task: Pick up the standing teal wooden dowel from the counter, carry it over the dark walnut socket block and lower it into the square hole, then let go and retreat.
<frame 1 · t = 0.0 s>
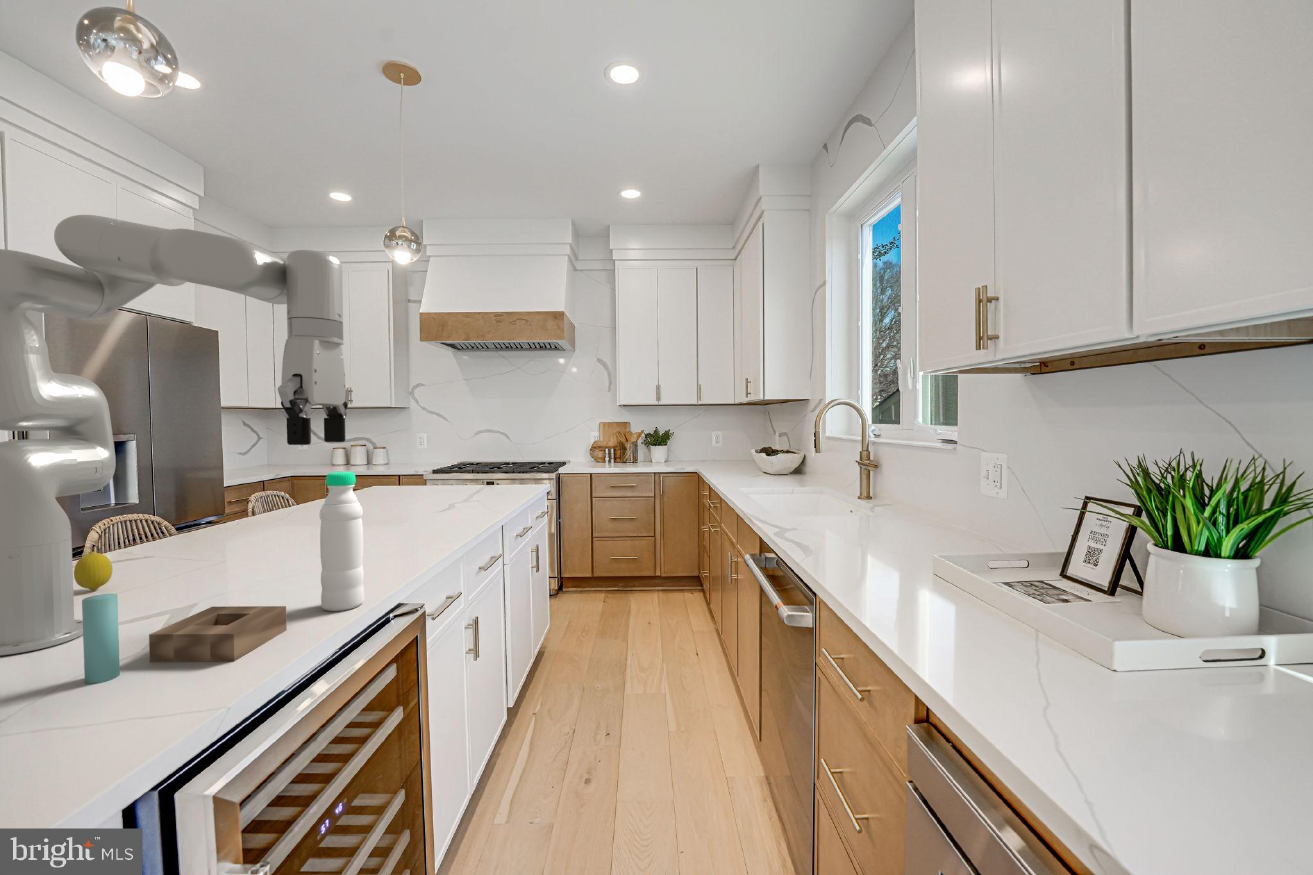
hand: (318, 443, 89), 31 cm above the countertop, tool pointing down, fingers open, 9 cm apart
water bottle: (343, 606, 106), on the countertop
dowel: (102, 677, 77), on the countertop
socket block: (222, 644, 88), on the countertop
lemon: (94, 591, 115), on the countertop
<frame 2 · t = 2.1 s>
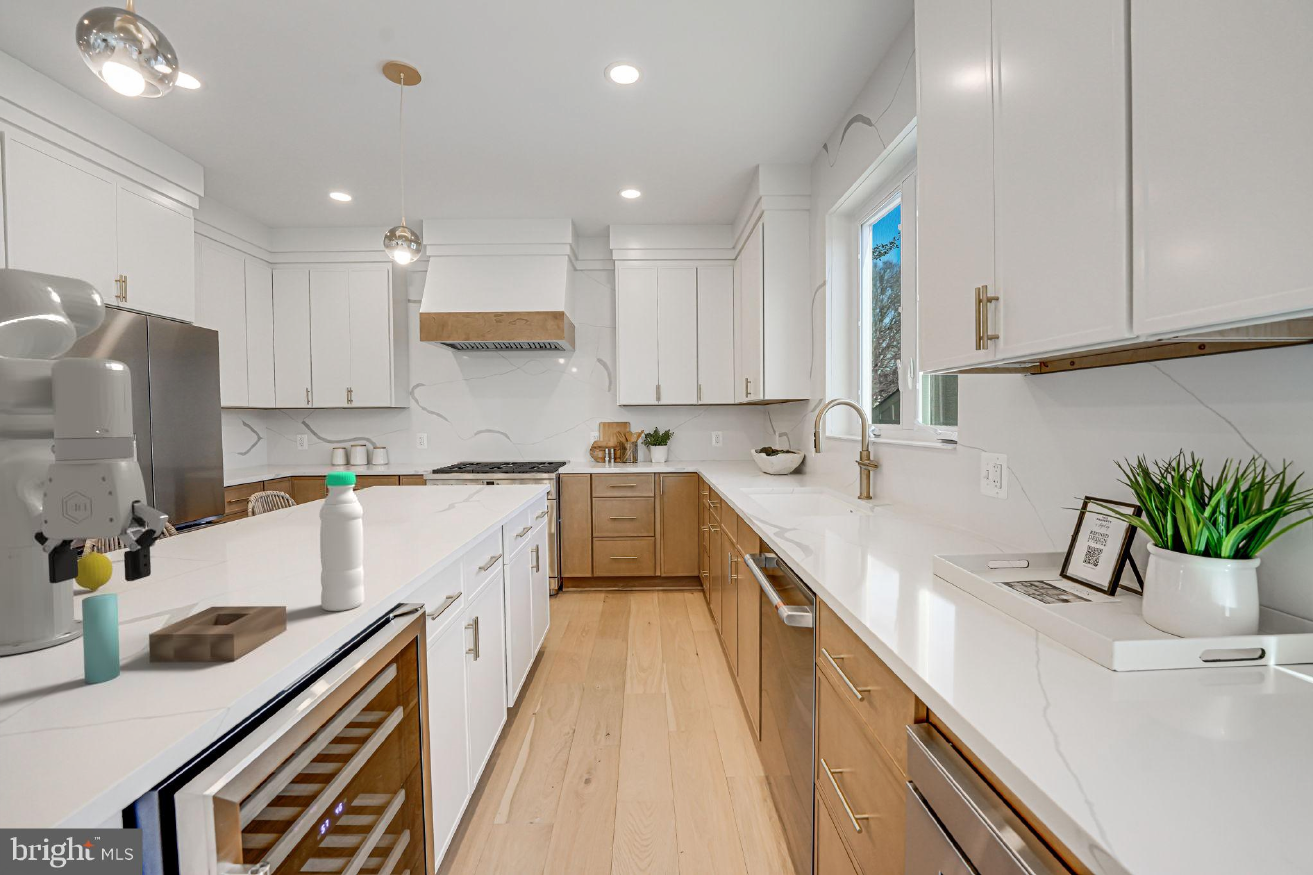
hand: (101, 579, 76), 14 cm above the countertop, tool pointing down, fingers open, 9 cm apart
nothing on the countertop moved.
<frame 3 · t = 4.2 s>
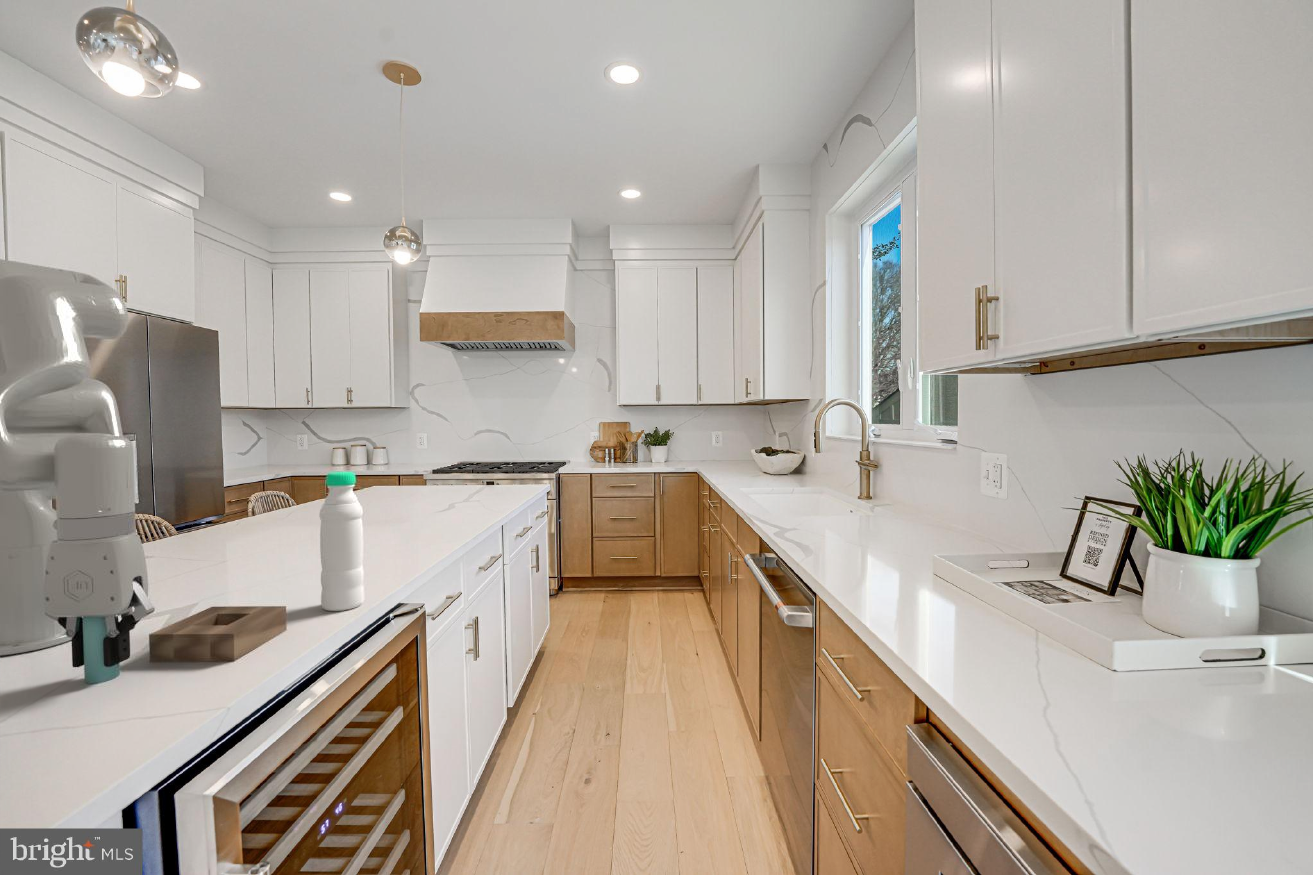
hand: (102, 661, 77), 2 cm above the countertop, tool pointing down, fingers closed on dowel, 3 cm apart
dowel: (102, 677, 77), on the countertop, touching gripper
everything else where it was.
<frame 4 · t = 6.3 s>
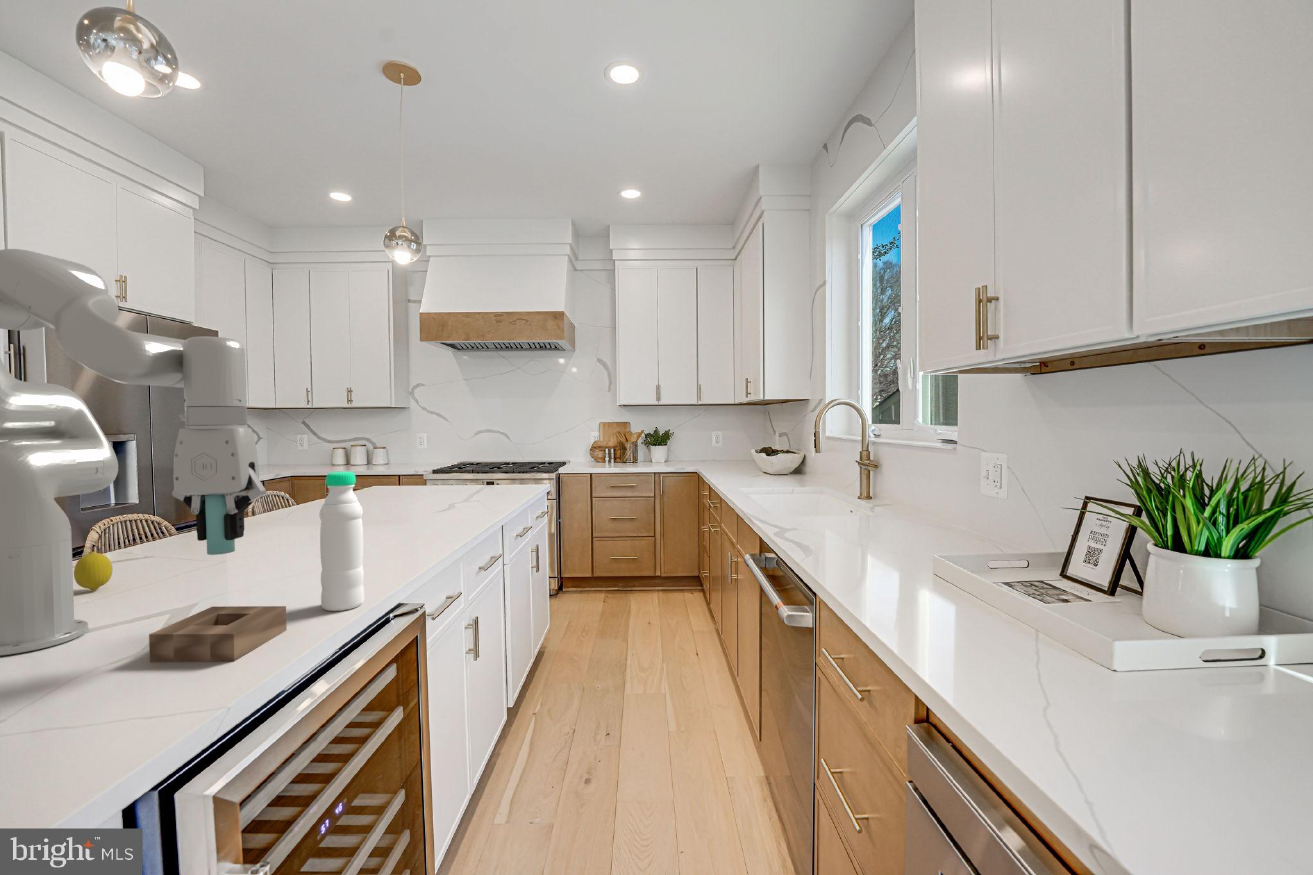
hand: (221, 537, 87), 17 cm above the countertop, tool pointing down, fingers closed on dowel, 3 cm apart
dowel: (221, 552, 87), point 15 cm above the countertop, touching gripper
everything else where it was.
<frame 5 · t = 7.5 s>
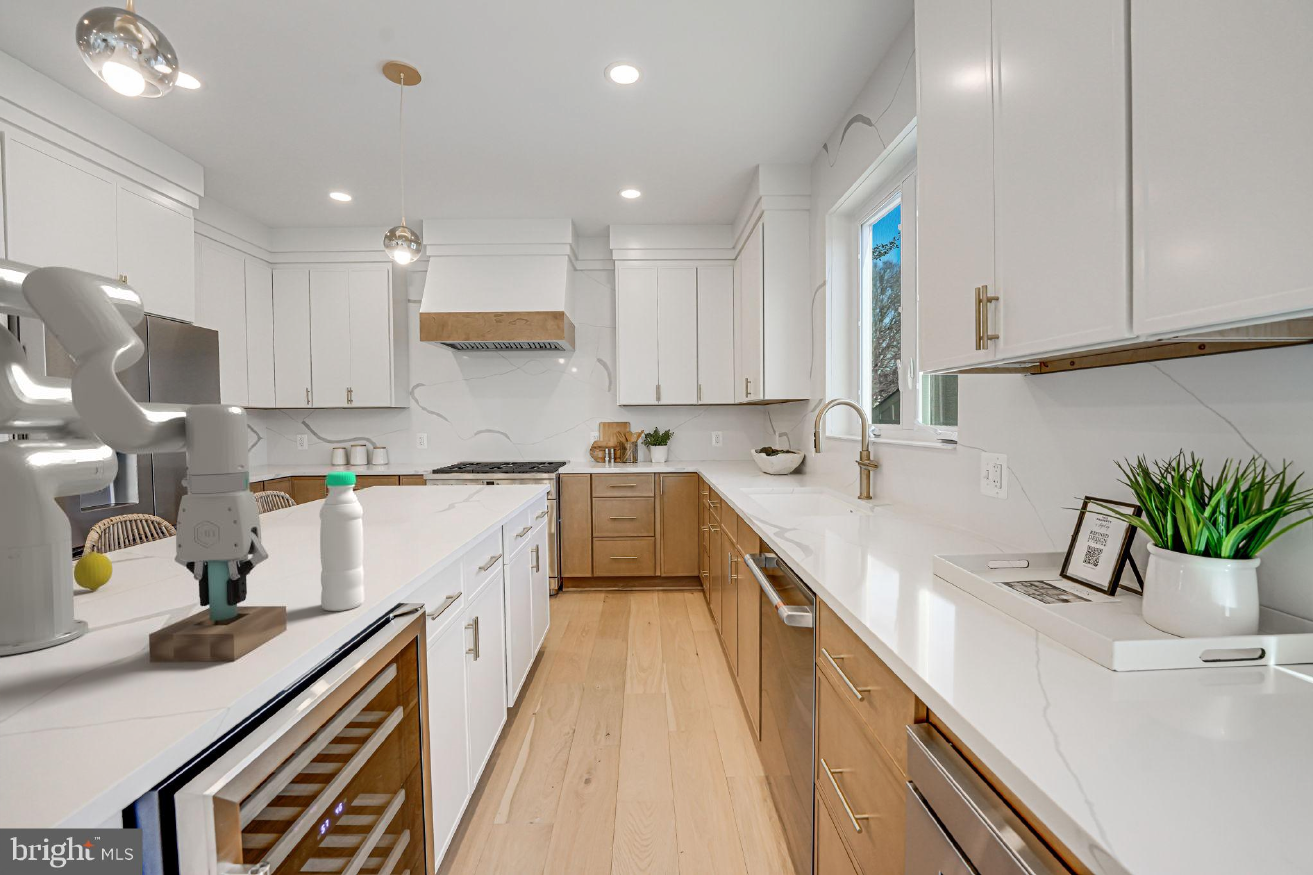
hand: (223, 601, 88), 7 cm above the countertop, tool pointing down, fingers closed on dowel, 3 cm apart
dowel: (223, 616, 88), point 4 cm above the countertop, touching gripper
everything else where it was.
when the fingers open (5 cm above the countertop, at t = 8.5 s): dowel drops 2 cm, resting in socket block.
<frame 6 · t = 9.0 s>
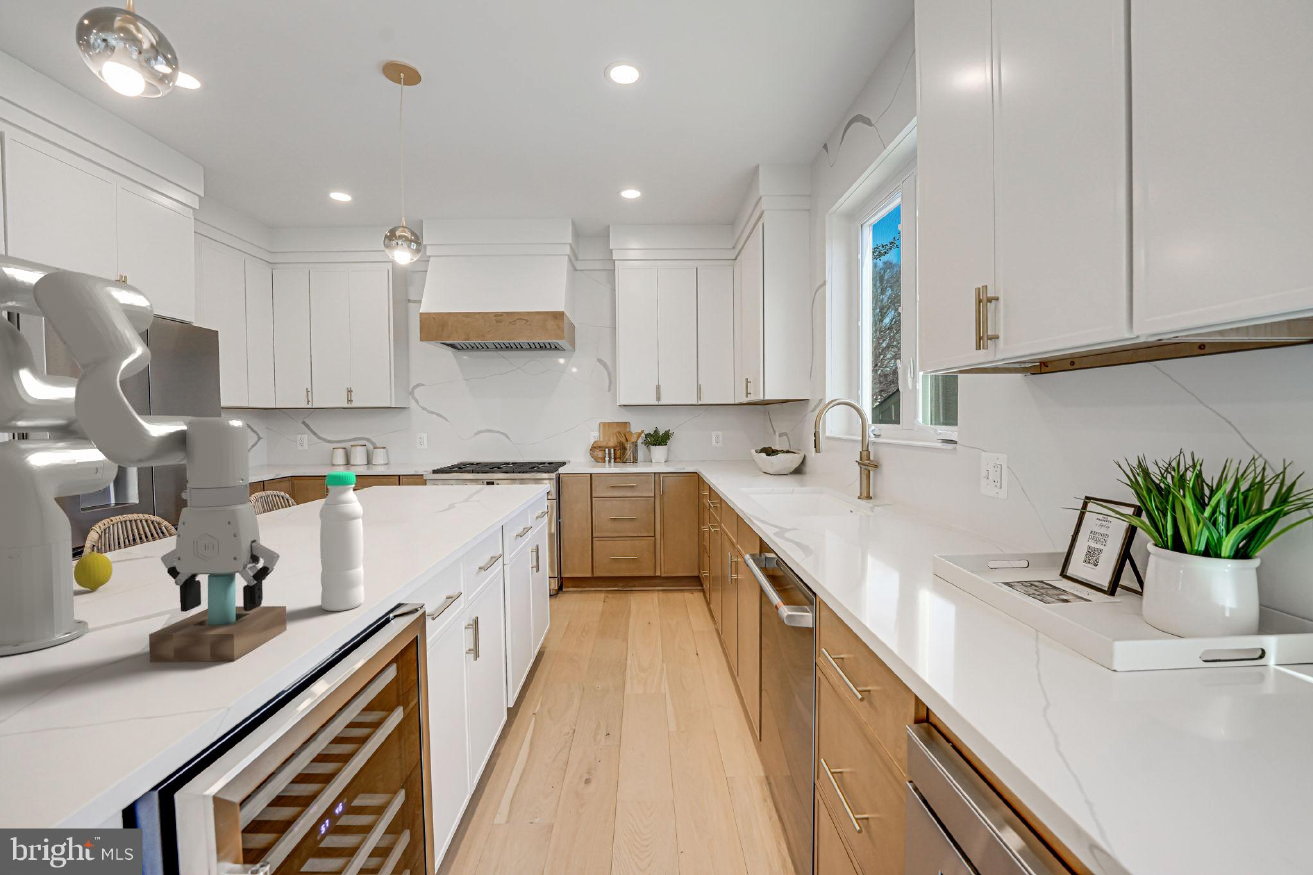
hand: (222, 608, 88), 6 cm above the countertop, tool pointing down, fingers open, 9 cm apart
dowel: (221, 644, 88), resting in socket block
everything else where it was.
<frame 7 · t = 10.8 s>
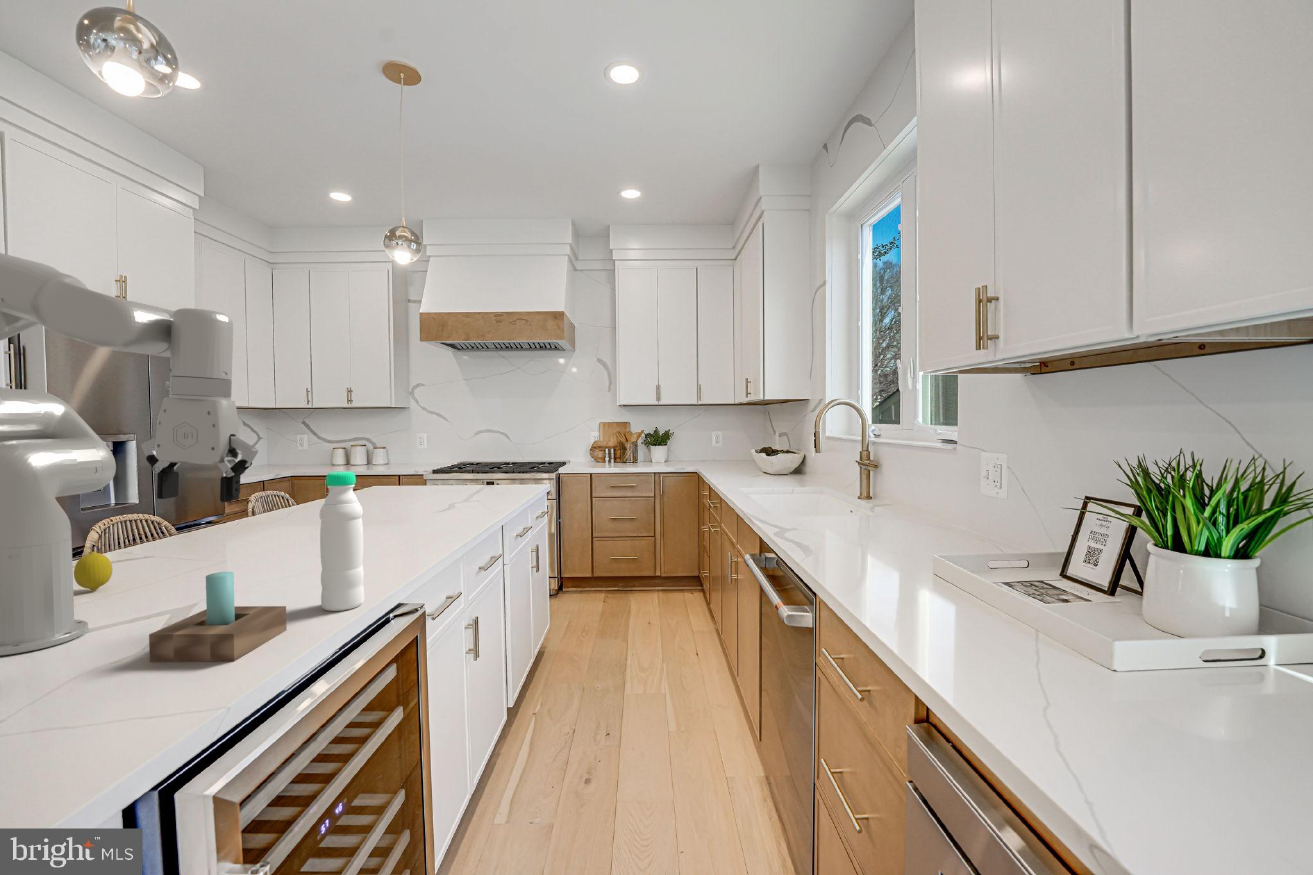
hand: (198, 499, 89), 22 cm above the countertop, tool pointing down, fingers open, 9 cm apart
nothing on the countertop moved.
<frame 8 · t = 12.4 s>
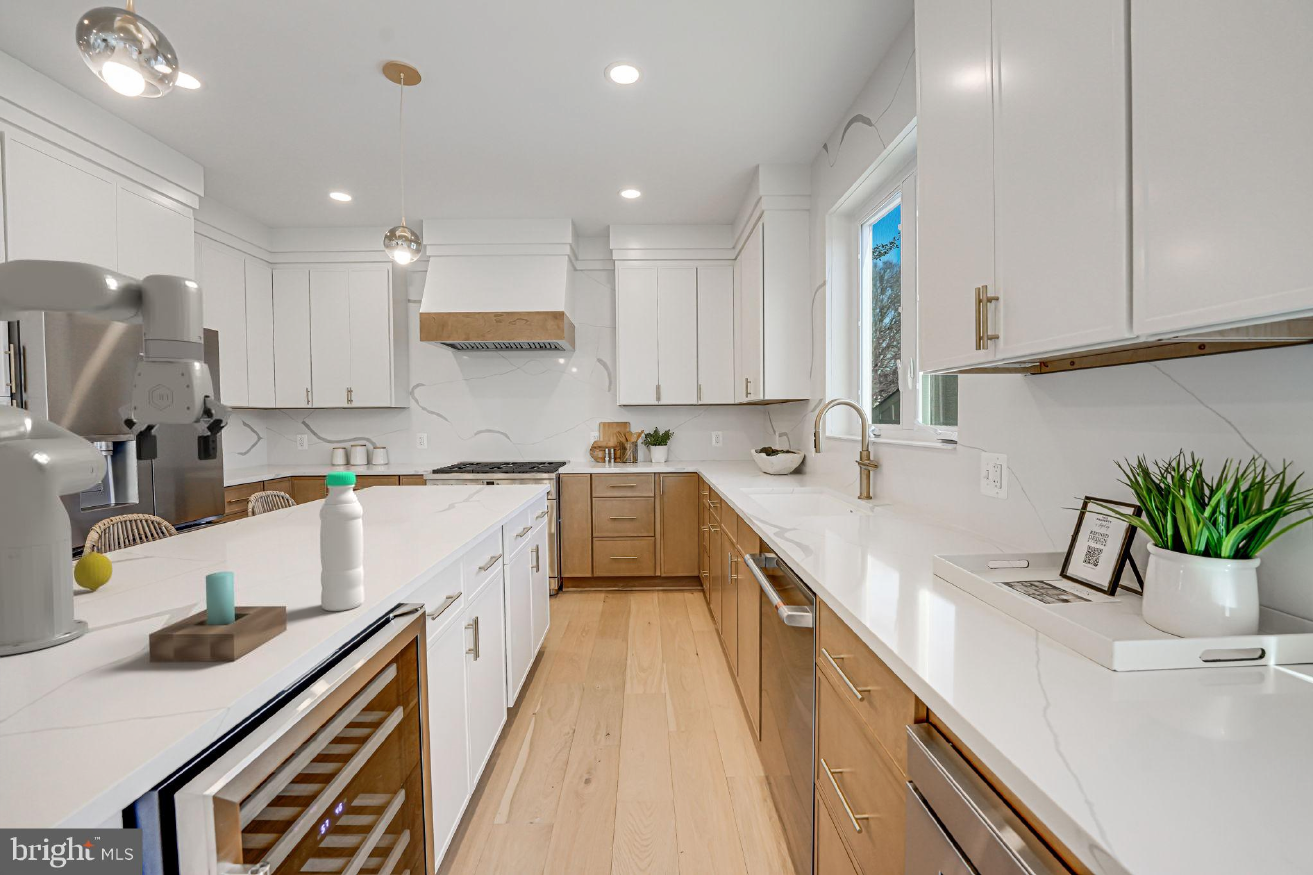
hand: (177, 459, 93), 28 cm above the countertop, tool pointing down, fingers open, 9 cm apart
nothing on the countertop moved.
at the end: dowel 0.1 cm off-centre on the socket block, point 0.0 cm above the socket block's base; dowel tilted 0°; the gripper is holding nothing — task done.
